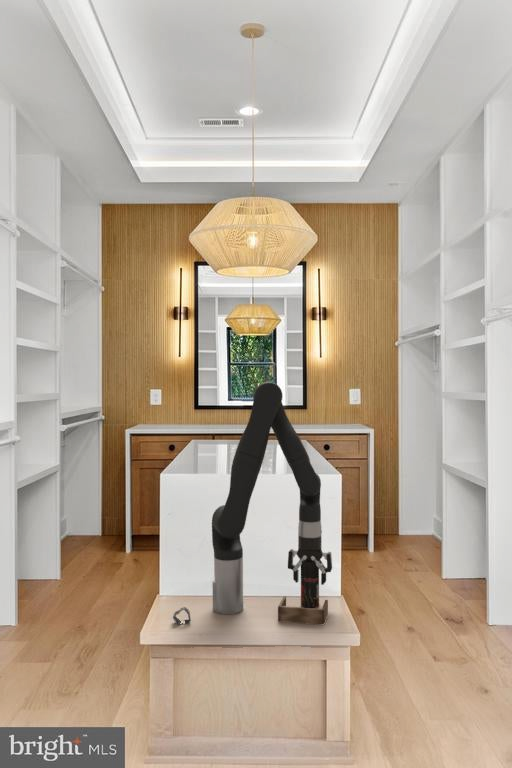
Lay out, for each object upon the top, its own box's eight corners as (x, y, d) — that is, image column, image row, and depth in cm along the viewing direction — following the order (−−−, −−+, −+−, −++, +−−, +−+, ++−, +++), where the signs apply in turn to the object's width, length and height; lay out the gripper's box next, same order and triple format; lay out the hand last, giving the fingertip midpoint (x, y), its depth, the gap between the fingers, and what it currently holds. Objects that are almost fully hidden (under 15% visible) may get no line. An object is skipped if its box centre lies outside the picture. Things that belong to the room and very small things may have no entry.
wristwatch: (182, 625, 204) (171, 615, 203) (194, 614, 204) (183, 603, 203) (182, 630, 201) (170, 619, 200) (194, 619, 201) (183, 608, 200)
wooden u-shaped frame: (278, 620, 203) (278, 606, 203) (283, 610, 212) (283, 596, 211) (324, 625, 200) (323, 610, 199) (327, 613, 208) (327, 599, 208)
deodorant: (318, 609, 212) (317, 563, 211) (299, 608, 213) (299, 562, 213) (320, 602, 218) (319, 557, 217) (302, 601, 219) (301, 556, 218)
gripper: (286, 535, 213) (286, 585, 213) (330, 538, 209) (330, 588, 210) (290, 529, 220) (290, 577, 220) (333, 532, 216) (333, 580, 217)
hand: (309, 582), depth 215 cm, fingers open, 8 cm apart
